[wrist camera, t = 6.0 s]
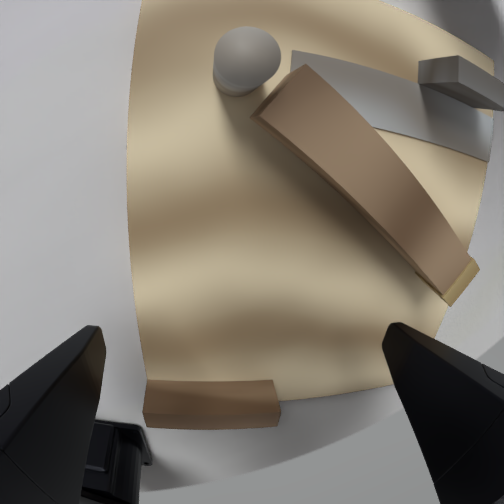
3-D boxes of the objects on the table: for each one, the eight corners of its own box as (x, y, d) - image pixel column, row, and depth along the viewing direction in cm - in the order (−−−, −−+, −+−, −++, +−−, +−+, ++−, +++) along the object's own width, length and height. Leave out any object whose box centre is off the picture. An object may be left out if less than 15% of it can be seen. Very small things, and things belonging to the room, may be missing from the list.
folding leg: (247, 119, 10) (258, 118, 8) (287, 73, 10) (308, 60, 8) (422, 281, 15) (450, 306, 12) (449, 248, 14) (480, 269, 12)
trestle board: (404, 366, 20) (435, 411, 16) (154, 384, 17) (147, 448, 13) (477, 61, 12) (537, 61, 7) (154, -18, 9) (132, -72, 4)
